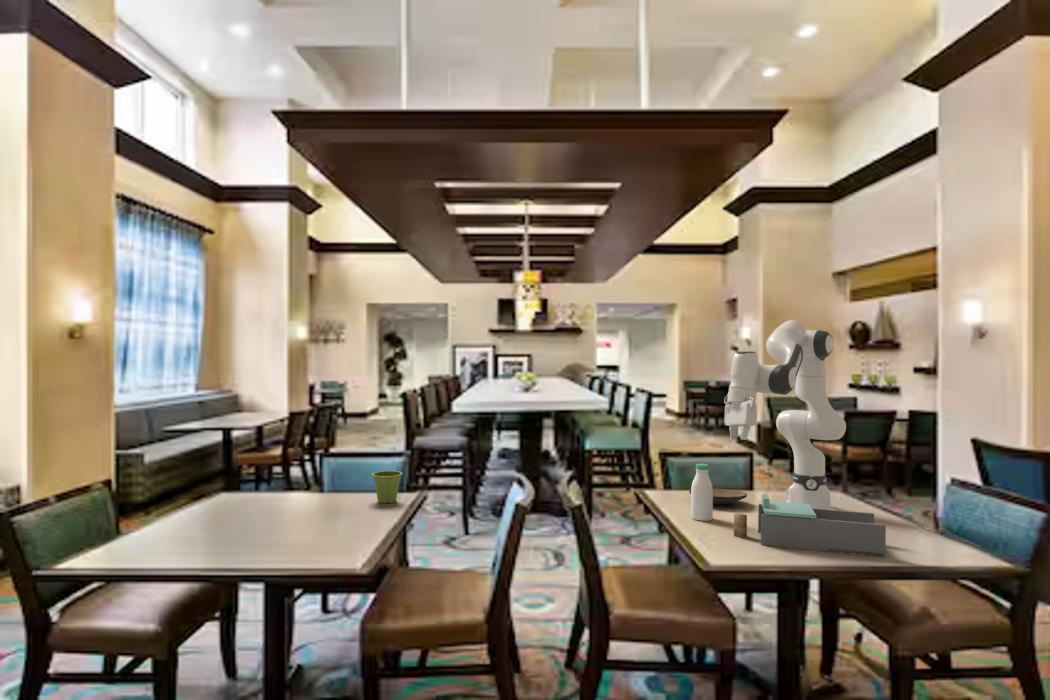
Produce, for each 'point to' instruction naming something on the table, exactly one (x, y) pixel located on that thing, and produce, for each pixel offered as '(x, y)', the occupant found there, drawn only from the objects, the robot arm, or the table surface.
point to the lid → (787, 508)
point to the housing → (824, 531)
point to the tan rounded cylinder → (740, 525)
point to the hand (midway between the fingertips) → (738, 439)
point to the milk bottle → (702, 494)
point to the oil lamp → (726, 496)
